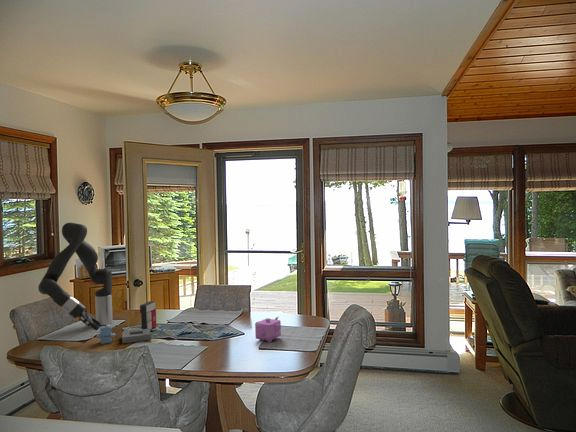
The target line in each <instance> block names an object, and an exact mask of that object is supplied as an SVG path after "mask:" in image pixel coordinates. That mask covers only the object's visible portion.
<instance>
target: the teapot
mask: <svg viewBox="0 0 576 432" xmlns="http://www.w3.org/2000/svg"><path fill="white" fill-rule="evenodd" d="M279 317H280V316H277V317H275V318H274V319H273V318H269V317H268V318H267V317H266V318H264V319H262V320H260V321H256V322H255V324H254V327H255V334H254V335H255V340H259V341H260V342H263V341H267V343H272V342H273V340H275V341H276V340H278V337H279V338H280V337H281V336H282V331H281V329H282V326H281V325H282V324H281V323H282V322H281V319H279Z"/></svg>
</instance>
